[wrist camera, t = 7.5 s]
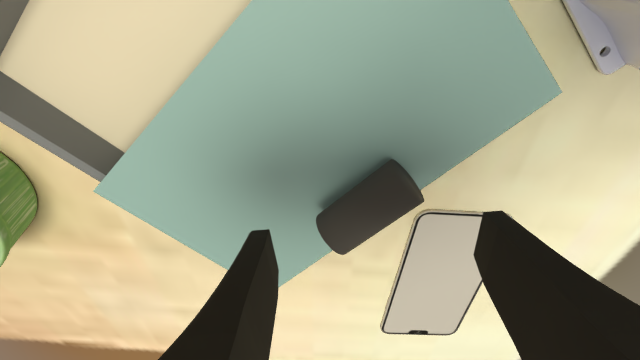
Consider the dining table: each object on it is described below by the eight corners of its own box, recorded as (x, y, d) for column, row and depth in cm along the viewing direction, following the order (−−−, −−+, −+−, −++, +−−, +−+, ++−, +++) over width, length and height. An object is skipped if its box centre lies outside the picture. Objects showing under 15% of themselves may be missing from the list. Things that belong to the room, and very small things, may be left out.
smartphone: (519, 215, 25) (455, 335, 34) (514, 209, 26) (452, 329, 34) (417, 210, 25) (378, 333, 33) (415, 204, 25) (377, 327, 34)
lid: (554, 87, 17) (600, 116, 14) (269, 286, 25) (265, 328, 22) (397, -175, 12) (423, -206, 9) (98, 184, 19) (65, 224, 17)
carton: (437, -60, 16) (460, -58, 14) (183, 192, 24) (168, 223, 21) (219, -400, 11) (192, -496, 8) (-15, 63, 19) (-64, 83, 16)
